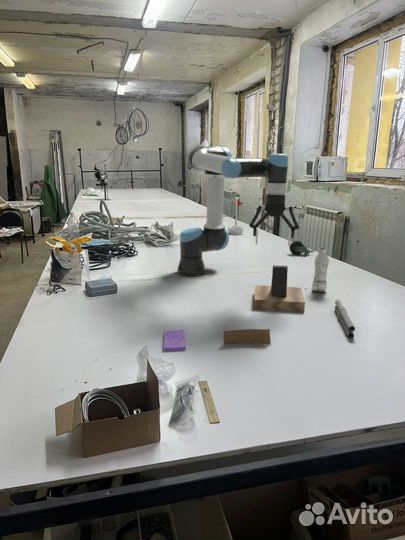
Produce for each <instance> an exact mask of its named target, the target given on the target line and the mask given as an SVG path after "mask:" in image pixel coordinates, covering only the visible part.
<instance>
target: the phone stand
mask: <svg viewBox="0 0 405 540" xmlns="http://www.w3.org/2000/svg"><path fill="white" fill-rule="evenodd" d="M288 269H289V267H288V265H275V264H274V265H272V274H271V275H272V276H271V285H270V286H271V293H272V296H276V297H287V287H288Z"/></svg>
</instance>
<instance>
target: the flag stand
mask: <svg viewBox="0 0 405 540" xmlns="http://www.w3.org/2000/svg"><path fill="white" fill-rule="evenodd" d="M234 200H235V213H234V214H235V215H234V217H235V218H234V225H232V227H231V226H228V227H227V231H228V234H229V235H230V234H232V235H231V236H241V235H240V234H242V235H243V234H244V233H243V232H244V231H245V227H244V226H239V225H238V207H239V206H241V205H242V204H244V202H241V201H239V197H238V196H235V197H234Z"/></svg>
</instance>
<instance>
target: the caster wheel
mask: <svg viewBox="0 0 405 540" xmlns="http://www.w3.org/2000/svg"><path fill="white" fill-rule="evenodd" d="M288 247H289V251H290V253H291V254H292V255H294V256H299V255H301V254H304V256H305V257H306V256H308V255H310V253H314V252H315V250H311V249H309V248H308V246H307V245H305V244H304V243H303V242H302V241H301V240H293V241H291V242H290V246H288Z"/></svg>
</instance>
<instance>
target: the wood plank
mask: <svg viewBox="0 0 405 540" xmlns="http://www.w3.org/2000/svg"><path fill="white" fill-rule="evenodd" d="M240 344H243V345H244V344H245V345H248V344H249V345H250V344H251V345H265V346H269V345H272V344H271V329H270V328H265V329H261V328H259V329H257V328H256V329H255V328H247V329H234V330H233V329H232V330H231V329H230V330H226V331H225V330H223V345H240Z"/></svg>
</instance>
